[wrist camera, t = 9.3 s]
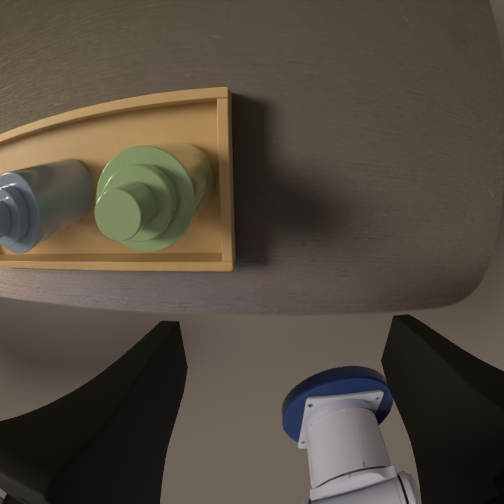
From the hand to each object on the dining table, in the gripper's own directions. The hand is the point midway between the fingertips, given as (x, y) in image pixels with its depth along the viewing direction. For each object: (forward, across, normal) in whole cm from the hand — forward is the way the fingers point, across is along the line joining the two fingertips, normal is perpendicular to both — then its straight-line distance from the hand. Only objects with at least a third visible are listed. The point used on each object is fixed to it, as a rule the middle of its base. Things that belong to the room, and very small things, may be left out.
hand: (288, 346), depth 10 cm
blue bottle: (+10, +14, -4) cm, 17 cm away
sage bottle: (+10, +6, -4) cm, 12 cm away
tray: (+10, +14, -4) cm, 17 cm away
